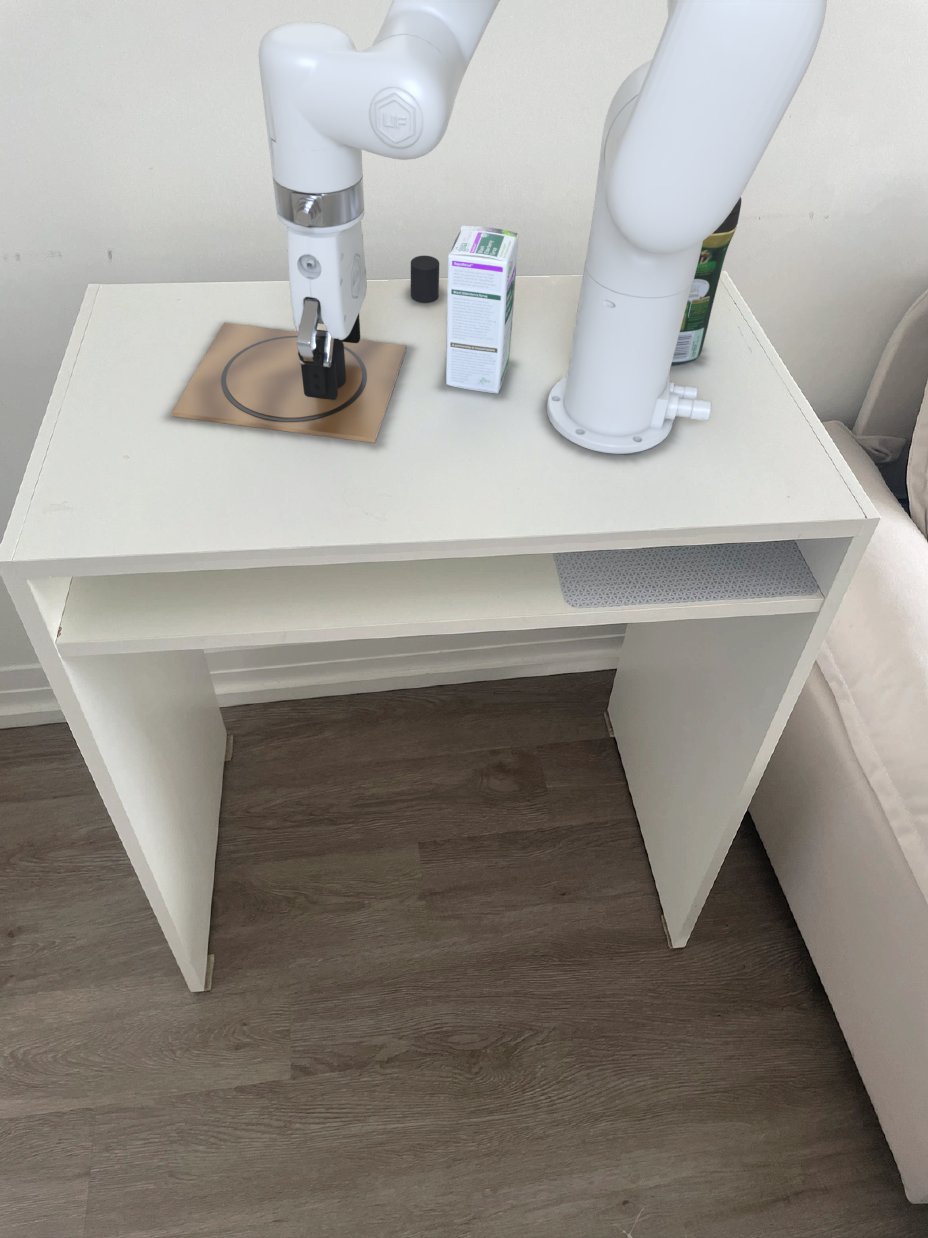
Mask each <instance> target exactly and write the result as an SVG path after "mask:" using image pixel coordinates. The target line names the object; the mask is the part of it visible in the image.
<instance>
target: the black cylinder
mask: <svg viewBox="0 0 928 1238" xmlns="http://www.w3.org/2000/svg"><path fill="white" fill-rule="evenodd" d="M439 292H440V261H439V259H438V258H436V257H434V256H431V255H418V256H414V257H413V258H412V259H411V260H410V297H411V299H412V300H413V301H414V302H418V303H422V304H429V303H433V302H436V301H437V300H438V299H439V295H440V294H439Z"/></svg>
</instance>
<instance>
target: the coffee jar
mask: <svg viewBox="0 0 928 1238" xmlns="http://www.w3.org/2000/svg"><path fill="white" fill-rule="evenodd" d="M741 207H742V196H741V197H740V198H739V200H738V202H737V203H736V205H735V206H734V208H733V209H732V211H731V213H730V214H729V215H728V217H727V218H726V219H725V221H724V222H723V223H722V224H721V225H720V226H719V227H718V228H717V229H716V230H715V231H714V232H713V233H712V234H711V235H710V236H708V237H707V238H706V239H705V240H703V244H702V248H701V252H700V257H699V261H698V265H697V269H696V272H695V276H694V280H693V282H692V286H691V290H690V293H689V297H688V301H687V305H686V309H685V313H684V317H683V321H682V325H681V329H680V332H679V336H678V340H677V344H676V348H675V352H674V356H673V360H672V364H671V366H679V365H683V364H688V363H691V362H693V361H695V360H697V359H698V358H699V357H700V355H701V354H702V351H703V347H704V343H705V340H706V334H707V332H708V327H709V322H710V318H711V313H712V310H713V305H714V302H715V298H716V294H717V289H718V285H719V282H720V278H721V274H722V269H723V266H724V263H725V258H726V255H727V252H728V249H729V246H730V244H731V242H732V239H733V237H734V235H735V233H736V230H737V226H738V224H739V220H740V219H739V218H740V213H741Z"/></svg>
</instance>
